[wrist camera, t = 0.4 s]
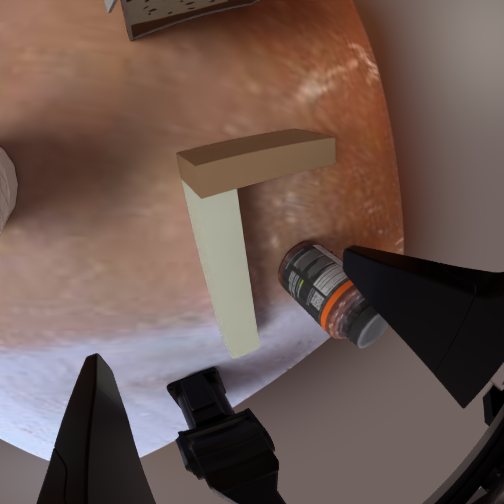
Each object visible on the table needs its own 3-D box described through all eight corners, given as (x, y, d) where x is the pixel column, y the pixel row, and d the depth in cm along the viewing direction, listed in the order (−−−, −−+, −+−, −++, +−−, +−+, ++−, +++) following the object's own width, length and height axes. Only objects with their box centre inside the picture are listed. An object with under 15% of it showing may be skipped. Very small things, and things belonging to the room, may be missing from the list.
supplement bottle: (323, 273, 32) (393, 333, 23) (279, 297, 30) (345, 369, 22) (321, 230, 29) (405, 288, 20) (271, 253, 27) (351, 328, 18)
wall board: (300, 305, 33) (325, 331, 29) (222, 340, 30) (242, 373, 26) (294, 128, 22) (335, 137, 18) (176, 153, 19) (194, 166, 15)
